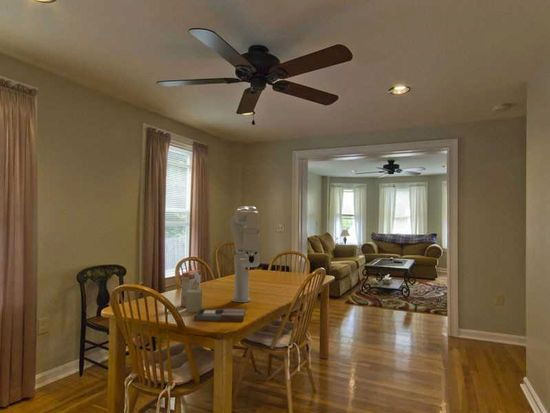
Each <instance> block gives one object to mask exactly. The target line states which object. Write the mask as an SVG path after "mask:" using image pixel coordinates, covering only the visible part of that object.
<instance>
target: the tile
mask: <svg viewBox="0 0 550 413" xmlns="http://www.w3.org/2000/svg"><path fill="white" fill-rule="evenodd" d="M215 315H216V310H205V311H204V312H203V316H215Z"/></svg>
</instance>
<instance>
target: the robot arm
mask: <svg viewBox="0 0 550 413" xmlns="http://www.w3.org/2000/svg"><path fill="white" fill-rule="evenodd" d="M259 219H260V213H259V211H258V209H257V207H255V206H249V205H248V206H247V205H246V206H244V205H241V206H239V207H237V208H236V210H235V212H234V216H231V217H230V219H229V228H230V231H231V234H232V235H233V243H234V244H233V245H234V251H235V252H236V254H235V255H234V257H233V264H234V297H232V298H231V301H232V302H235V303H248V302H251V301H252V298H251V297H250V295H249V292H250V290H249V288H250V272H249V271H248V270H247V269H246V268H257V267H259V266H260V262H261V258H260V253H261V252H262V251H261V234H259V233H261V232H262V230H261V229H260V228H259V224H260V223H259ZM242 229H245V232H244V231H243V230H242Z"/></svg>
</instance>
